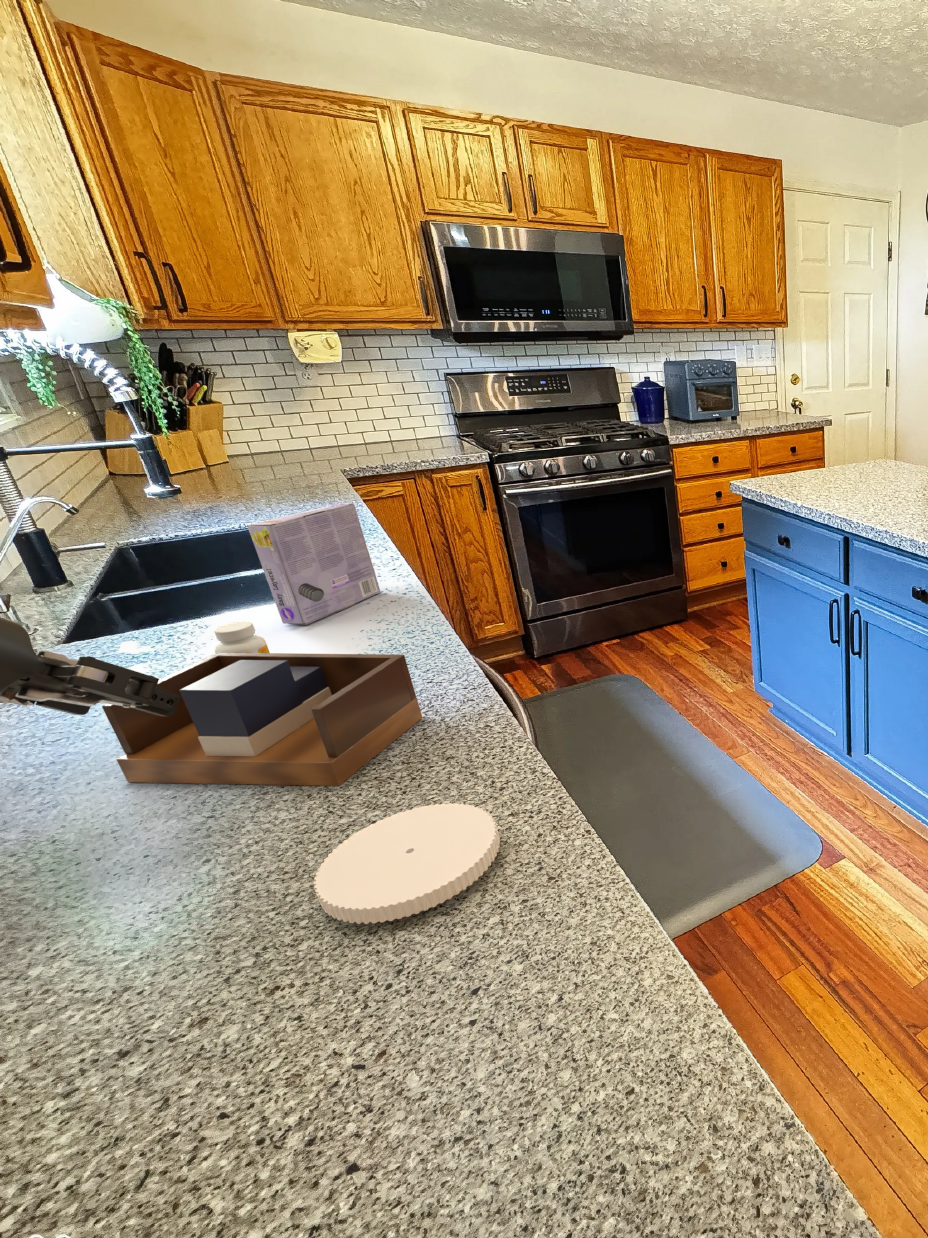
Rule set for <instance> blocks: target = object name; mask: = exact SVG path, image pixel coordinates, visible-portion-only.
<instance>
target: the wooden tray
mask: <svg viewBox="0 0 928 1238" xmlns="http://www.w3.org/2000/svg"><path fill="white" fill-rule="evenodd" d="M239 660H287V661H288V663H289V666H290V667H321V670H322V673H323V676H324V678H325V681H326V684H327V687H329V688H330V691H331V694H332V696H331V697H329V698H328V699H326V700H324V701H323V702H321V703H320V704H318V705H317V706H315V707H313V708H312V709H311V710H312V713H313V716H314V718H313V719H312V720H310V721H309V722H307V723H306V724H304V725H303V726H301V727H299V728H298V729H296V730H295V731H293V732H292V733H290V734H289V735H287V736H286V737H284V738H283V739H281V740H280V741H278V742H277V743H275V744H274V745H272V746H271V747H269V748H268V749H266V750H265V751H263V752H262V753H260V754H259V755H257V756H255V757H251V756H206V754H205V752H204V750H203V748H202V745H201V743H200V741H199V739H198V737H199V734H198V732H197V729H196V727H195V725H194V723H193V720H192V718H191V716H190V714H189V711H188V709H187V707H186V705H185V702H184V700H183V698H182V695H181V693H180V691H179V690H180V689H182V688H185V687H187V686H189V685H191V684H193V683H195V682H197V681H199V680H201V679H203V678H205V677H207V676H209V675H211V674H213V673H215V672H217V671H219V670H221V669H223V668H225V667H227V666H229V665H231V664H233V663H235V662H237V661H239ZM407 663H408V662H407V660H406V657H405V654H391V653H390V654H389V653H387V654H386V653H385V654H383V653H381V654H380V653H378V654H375V653H294V652H293V653H291V652H290V653H289V652H288V653H283V652H281V653H279V652H278V653H277V652H270V653H214V654H212V655H209V656H206V657H205V658H202V659H201V660H198V661H197V662H194V663H192V664H190V665H187V666H185V667H183V668H181V669H179V670H177V671H175V672H173V673H170V674H168V675H166V676H164V677H162V678H158V679H159V681H158V683H157V686H156V687H157V688H161V689H164V690H167V691H170V692H173V693H176V694H179V695H180V702H179V704H178V707H177V709H176V712H175V714H174V715H173V716H170V717H167V716H158V715H155V714H151V713H148V712H144V711H141V710H137V709H134V708H125V707H122V706H119V705H113V704H107V703H105V704H104V705H101V708H102V710H103V712H104V715H105V717H106V718H107V721H108V722H109V724H110V727H111V729H112V730H113V732H114V734H115V736H116V738H117V740H118V743H119V744H120V746H121V748H122V751H123V752H124V755H121V756H120V757H118V758H117V759H116V761H117V764H118V766H119V768H120V770H121V772H122V774H123V776H124V778H125V780H126V782H127V783H146V784H147V783H148V784H151V783H152V784H153V783H154V784H155V783H157V784H202V785H203V784H206V785H207V784H209V785H212V784H213V785H263V786H265V785H266V786H267V785H268V786H269V785H271V786H318V787H319V786H320V787H321V786H324V787H326V786H327V787H329V786H330V787H337V786H338V787H339V786H340V785H342V784H343V783H345V782H346V781H347V780H348V779H349V778H351V776H353V775H354V774H355V773H357V772H358V771H359V770H360V769H362V768H363V767H365V765H366V764H368V763H369V762H370V761H372V760H373V759H374V758H375V757H376V756H378V755H379V754H381V752H383V751H384V750H385V749H386V748H387V747H389V746H390V745H391V744H392V743H394V742H395V741H396V740H397V739H399V738H400V737H401V736H402V735H403V734H405V733H406V732H407V731H409V730H410V729H411V728H412V727H413V726H414V725H416V724H417V723H418V722H419V721H420V720H422V719H423V715H422V714H423V713H422V711H421V708H420V705H419V700H418V697H417V694H416V690H415V688H414V684H413V681H412V677H411V674H410V670H409V666H408V664H407Z"/></svg>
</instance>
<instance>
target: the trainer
mask: <svg viewBox="0 0 928 1238" xmlns="http://www.w3.org/2000/svg"><path fill="white" fill-rule="evenodd" d="M179 691H180V693H181V695H182V698H183V700H184V702H185V705H186V707H187V709H188V711H189V714H190V716H191V718H192V720H193V723H194V725H195V727H196V729H197V732H198V734H199V737H198V739H199V741H200V743H201V745H202V748H203V750H204V752H205V754H206V756H251V757H255V756H257V755H259V754H260V753H262V752H263V751H265V750H266V749H268V748H269V747H271V746H272V745H274V744H275V743H277V742H278V741H280V740H281V739H283V738H284V737H286V736H287V735H289V734H290V733H292V732H293V731H295V730H296V729H298V728H299V727H301V726H303V725H304V724H306V723H307V722H309V721H310V720H312V719H313V718H314V716H313V713H312V710H311V709H312V708H313V707H315V706H317V705H318V704H320V703H321V702H323V701H324V700H326V699H328V698H329V697H331V696H332V694H331V691H330V688H329V687H327V684H326V681H325V678H324V676H323V673H322V670H321V667H290V666H289V663H288V661H287V660H239V661H237V662H235V663H233V664H231V665H229V666H227V667H225V668H223V669H221V670H219V671H217V672H215V673H213V674H211V675H209V676H207V677H205V678H203V679H201V680H199V681H197V682H195V683H193V684H191V685H189V686H187V687H185V688H182V689H180V690H179Z"/></svg>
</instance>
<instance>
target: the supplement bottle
mask: <svg viewBox="0 0 928 1238" xmlns="http://www.w3.org/2000/svg"><path fill="white" fill-rule="evenodd" d="M213 633H214V636H215V638H216V639H217V641H219V643H218V644H217V645H216V646H215V648H214V652H215V653H214V654H216V653H271V652H270V649H269V646H268V644H267V641H266V639H264V637H262V636H260V635H257V634H256V628H255V625H254V624H253V622H252V621H235V622H230V623H225V624H222V625H220V626H218V627H215V629H214V630H213Z"/></svg>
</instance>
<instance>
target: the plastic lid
mask: <svg viewBox="0 0 928 1238" xmlns="http://www.w3.org/2000/svg"><path fill="white" fill-rule="evenodd" d="M500 840H501V838H500V835H499V830H498V826H497V823H496V821H495V818H494V816H493V815H491V813H490V812H487V810H484V808H480V806H475V805H473V804H472V805H470V804H468V803H467V804H464V803H458V802H455V803H452V802H448V803H444V802H443V803H441V804H439V803H435V804H433V805H432V804H429V805H427V806H425V805H423V806H422V805H421V806H420V807H414V808H412V809H406V810H405V811H399V812H398V813H397V814H394V813H393V814H391V815H390V816H386V817H384V818H383V819H381V820H377V821H376V822H374V823H371V824H368V826H367V827H366V826H365V827H363V828H362V829H361V830H359V831H356V832H355V834H353V835H350V836H349V837H348V838H347V839H344V840H343V841H342V843H340V844H338V845H337V847H336V848H334V849H332V850H331V851H332V852H331V853H328V854H327V857H325V858H324V859H323V862H321V863H320V867H318V868H317V872H316V873H315V877H314V878H313V880H314V881H313V888H314V892H315V895H316V897H317V899H318V902H319V904H320V907H321V908H322V910H323V911H324V913H326V914H327V915H328V916H329V917H332V919H337V921H342V922H344V923H347V922H349V924H353V923H356V924H357V925H360V924H362V923H363V924H364V925H369V923H371V924H377V923H379V922H380V923H382V924H383V923H385V922H386V921H388V922H392V921H394V920H396V919H397V920H402V918H405V917H406V918H409V917H411V916H412V915H414V914H415V915H417V914H420V912H426V911H428V910H429V909H430V908H435V907H437V905H439V904H444V903H445V902H446V901H447V900H451V899H452V898H453V897H454V896H457V895H459V894H460V893H461V892H462V891H466V890H467V887H469V886H472V885H473V884H474V882H477V881H478V880H479V878H480V877H482V876H483V875H484V872H487V871H488V869H489V868H488V867H491V866H492V863H493V862H494V861H495V858H496V857H497V855H498V854H497V853H499V848H500V847H501V846H500V844H501V841H500Z"/></svg>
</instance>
